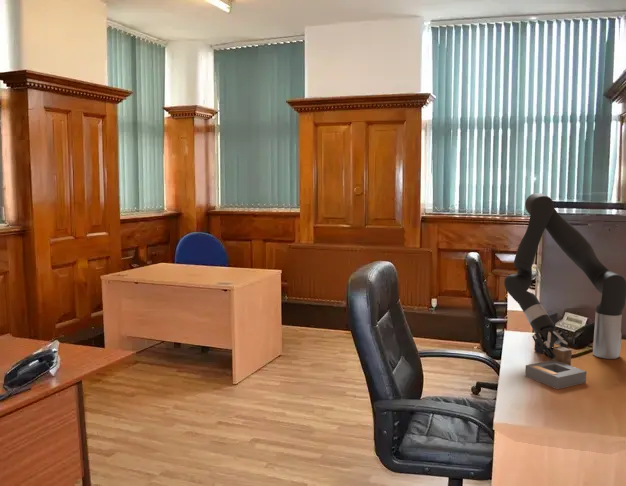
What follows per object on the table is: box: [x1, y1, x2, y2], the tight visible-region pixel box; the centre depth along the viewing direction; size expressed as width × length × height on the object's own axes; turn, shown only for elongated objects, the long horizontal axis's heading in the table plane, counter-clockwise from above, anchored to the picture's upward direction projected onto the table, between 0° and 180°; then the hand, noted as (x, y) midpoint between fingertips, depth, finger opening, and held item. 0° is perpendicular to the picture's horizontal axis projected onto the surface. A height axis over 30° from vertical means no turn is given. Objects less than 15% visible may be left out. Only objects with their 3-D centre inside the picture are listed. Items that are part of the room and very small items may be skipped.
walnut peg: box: [551, 346, 573, 366], centre depth 221 cm, size 4×4×8 cm
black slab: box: [533, 311, 558, 354], centre depth 245 cm, size 11×4×15 cm, turn 134°
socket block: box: [524, 359, 587, 390], centre depth 212 cm, size 14×14×4 cm
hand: (561, 356), depth 221 cm, fingers open, 8 cm apart
